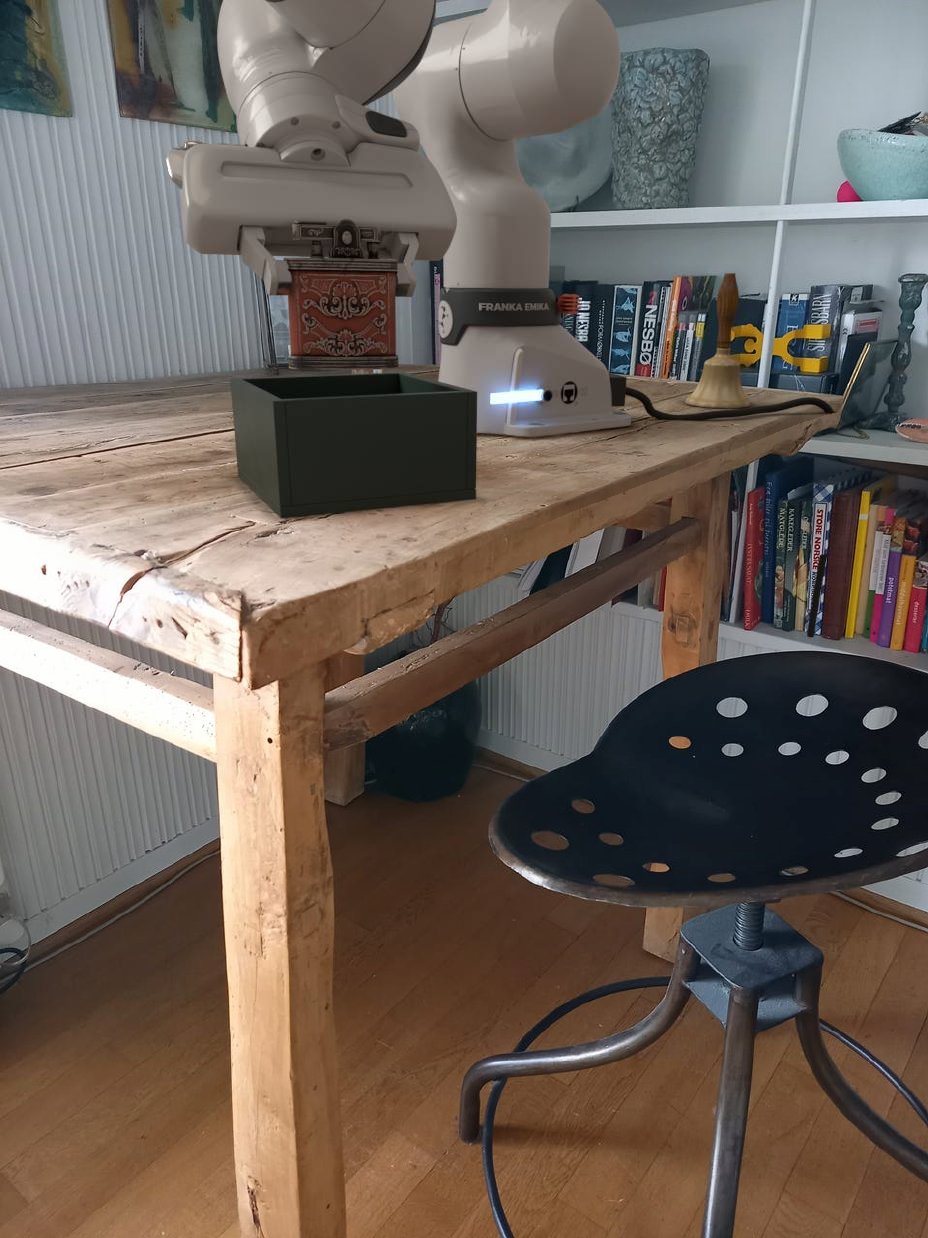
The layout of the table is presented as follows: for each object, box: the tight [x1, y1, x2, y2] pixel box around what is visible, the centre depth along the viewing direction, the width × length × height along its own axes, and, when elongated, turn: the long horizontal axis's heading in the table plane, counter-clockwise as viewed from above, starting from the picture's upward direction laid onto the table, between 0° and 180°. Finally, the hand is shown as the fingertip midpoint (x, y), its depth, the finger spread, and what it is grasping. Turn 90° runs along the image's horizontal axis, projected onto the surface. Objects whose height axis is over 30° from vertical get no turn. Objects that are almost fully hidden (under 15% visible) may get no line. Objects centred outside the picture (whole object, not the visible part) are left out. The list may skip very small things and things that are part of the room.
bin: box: [229, 371, 478, 519], centre depth 69 cm, size 15×15×8 cm
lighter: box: [282, 219, 399, 371], centre depth 65 cm, size 8×3×10 cm, turn 103°
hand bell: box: [684, 272, 752, 409], centre depth 115 cm, size 8×8×16 cm
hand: (345, 289), depth 64 cm, fingers closed on lighter, 8 cm apart
